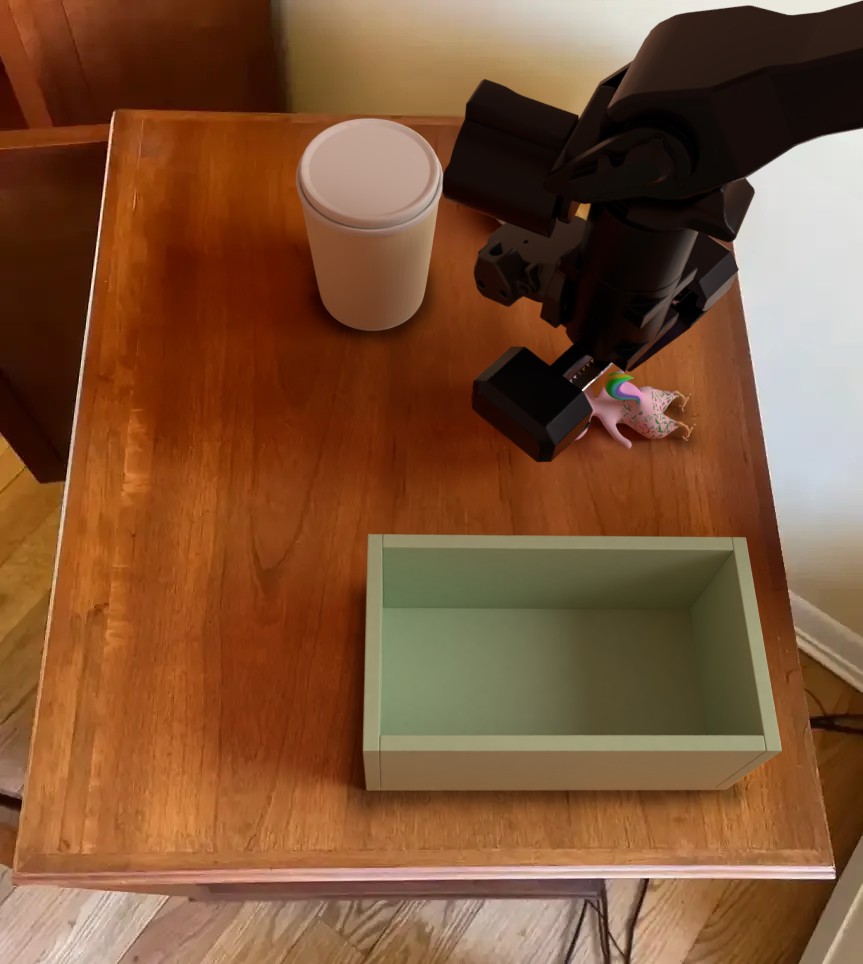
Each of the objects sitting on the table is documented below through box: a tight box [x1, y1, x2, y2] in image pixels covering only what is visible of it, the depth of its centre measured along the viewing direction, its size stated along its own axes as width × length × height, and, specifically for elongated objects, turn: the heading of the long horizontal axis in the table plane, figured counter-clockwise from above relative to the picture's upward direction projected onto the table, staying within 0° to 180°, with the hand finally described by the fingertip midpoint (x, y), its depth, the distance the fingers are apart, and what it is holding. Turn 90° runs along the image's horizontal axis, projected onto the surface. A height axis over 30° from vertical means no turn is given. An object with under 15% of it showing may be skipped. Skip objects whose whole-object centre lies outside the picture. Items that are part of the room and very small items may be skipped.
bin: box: [362, 533, 783, 791], centre depth 56 cm, size 21×12×10 cm, turn 90°
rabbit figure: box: [570, 368, 697, 450], centre depth 67 cm, size 6×6×15 cm
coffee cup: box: [295, 117, 444, 332], centre depth 69 cm, size 9×9×12 cm
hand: (585, 405), depth 68 cm, fingers open, 8 cm apart
